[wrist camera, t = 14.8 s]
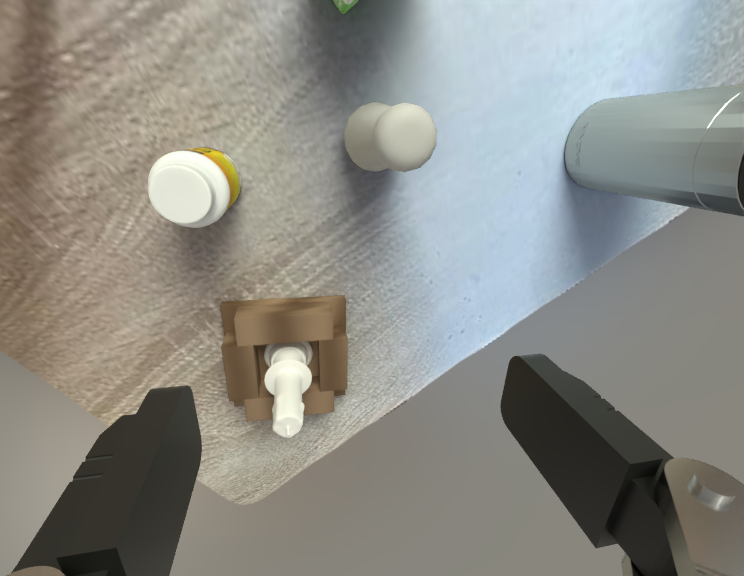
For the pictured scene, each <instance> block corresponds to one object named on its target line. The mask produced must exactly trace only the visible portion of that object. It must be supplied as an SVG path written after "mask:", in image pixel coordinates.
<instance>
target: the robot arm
mask: <svg viewBox="0 0 744 576" xmlns="http://www.w3.org/2000/svg"><path fill="white" fill-rule="evenodd" d="M565 163H566V167H567V171H568V173H569V175H570V176H571V178H572V179H573V180H574V181H575V182H576V183H577V184H579V185H580V186H582V187H586V188H591V189H596V190H602V191H607V192H612V193H617V194H622V195H628V196H633V197H639V198H644V199H650V200H655V201H661V202H666V203H672V204H677V205H683V206H688V207H694V208H699V209H705V210H710V211H717V212H722V213H728V214H733V215H738V216H744V84H739V85H730V86H721V87H712V88H703V89H694V90H685V91H675V92H666V93H657V94H648V95H637V96H628V97H619V98H611V99H606V100H602V101H600V102H597V103H595V104H594V105H592V106H591V107H589V108H588V109H587V110H586V111H585V112H584V113H583V114H582V115H581V116H580V117H579V118H578V120H577V121H576V123H575V124H574V126H573V128H572V130H571V132H570V134H569V137H568V140H567V143H566V150H565ZM501 413H502V417H503V420H504V423H505V424H506V426H507V428H508V429H509V430H510V432H511V433H512V434H513V436H514V437H515V439H516V440H517V441H518V443H519V444H520V445H521V447H522V448H523V449H524V451H525V452H526V453H527V455H528V456H529V458H530V459H531V460H532V462H533V463H534V465H535V466H536V467H537V469H538V470H539V471H540V473H541V474H542V475H543V477H544V478H545V479H546V481H547V482H548V484H549V485H550V486H551V488H552V489H553V490H554V492H555V493H556V494H557V496H558V497H559V498H560V500H561V501H562V503H563V504H564V505H565V507H566V508H567V510H568V511H569V512H570V514H571V515H572V516H573V518H574V519H575V520H576V522H577V523H578V525H579V526H580V527H581V529H582V530H583V531H584V533H585V534H586V535H587V537H588V538H589V539H590V541H591V542H592V543H593V545H594V546H595V548H599V547H603V546H609V545H613V544H619V545H620V546H621V548H622V549H623V550H624V551H625V553H624V556H623V558H622V572H623V576H744V484H742V483H741V482H740V481H738V480H737V479H735V478H734V477H733V476H731V475H729V474H728V473H726V472H724V471H722V470H720V469H718V468H716V467H714V466H712V465H710V464H707V463H704V462H701V461H698V460H694V459H689V458H673V457H672V456H671V455H670V454H669V453H667V452H666V451H665V450H664V449H662V448H661V447H660V446H659V445H658V444H657V443H656V442H654V441H653V440H652V439H651V438H650V437H648V436H647V435H646V434H645V433H644V432H643V431H641V430H640V429H639V428H638V427H637V426H635V425H634V424H633V423H632V422H631V421H630V420H628V419H627V418H626V417H625V416H624V415H623V414H621V413H620V412H619V411H615V409H614V407H613V406H612V405H611V404H610V403H608V402H607V401H606V400H605V399H601V396H600V395H599V394H598V393H596V391H594V390H593V389H592V388H591V387H590V386H588V385H587V384H586V383H585V382H583V381H582V380H580V379H578V378H576V377H574V376H572V375H570V374H568V373H567V372H565V371H562V370H561V369H560V368H559V367H558V366H557V365H556V364H554V363H553V362H552V361H551V360H550V359H549V358H548V357H546V356H545V355H543V354H533V355H523V356H514V357H512V359H511V360H510V362H509V366H508V371H507V375H506V380H505V385H504V390H503V395H502V399H501ZM201 451H202V443H201V435H200V429H199V424H198V419H197V414H196V409H195V404H194V398H193V393H192V390H191V388H190V387H189V386H178V387H167V388H156V389H151V390H150V391H149V392H148V394H147V395H146V397H145V399H144V401H143V402H142V404H141V406H140V408H139V410H138V411H137V413H136V414H133V415H124V416H122V417H120V418H119V419H118V420H117V421H116V422H115V423H113V424H112V425H111V426H110V427H109V428H108V429H106V430H105V431H104V432H103V433H102V434H101V435H100V436H99V437H98V439H97V440H96V442H95V444H94V445H93V447H92V448H91V450H90V451H89V453H88V455H87V456H86V461H85V462H82V464H81V465H80V467H79V469H78V470H77V472H76V473H75V475H74V476H73V481H72V482H70V483H69V484H68V486H67V488H66V489H65V491H64V492H63V494H62V495H61V497H60V498H59V500H58V501H57V503H56V505H55V506H54V508H53V509H52V511H51V513H50V514H49V516H48V517H47V519H46V520H45V522H44V523H43V525H42V527H41V528H40V530H39V532H38V533H37V534H36V536H35V538H34V539H33V541H32V542H31V544H30V546H29V547H28V549H27V550H26V552H25V553H24V555H23V556H22V558H21V559H20V561H19V563H18V564H17V566H16V567H15V568H14V570H13V572H12V573H11V574H9V575H6V576H169V574H170V570H171V567H172V563H173V560H174V556H175V552H176V549H177V545H178V542H179V538H180V534H181V531H182V527H183V523H184V520H185V517H186V513H187V509H188V506H189V502H190V498H191V494H192V491H193V488H194V484H195V481H196V477H197V473H198V470H199V466H200V461H201Z"/></svg>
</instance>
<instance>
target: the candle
mask: <svg viewBox="0 0 744 576" xmlns="http://www.w3.org/2000/svg"><path fill="white" fill-rule="evenodd" d="M312 356H313V351H312V347H311V345H310V343H309V342H308V341H304V342H291V343H277V344H268V345H267V346H266V348H265V351H264V359H265V362H266V364H267V365H268V367H269V369H268V371H267V372H266V374H265V378H264V382H265V386H266V388H267V390H268V391H269V392H270V393H271V394H273V395H275V397H274V405H273V408H272V412H273V427H272V428H273V431H274V432H276V433H277V434H278V435H280V436H282V437H285V438H291V437H292V436H294V435H295V434H297V433H298V432H299V431H300V430H301V428H302V425H303V412H304V407H305V406H304V403H303V402H302V394H303V393H304V392H305V391H306V390H307V389H308V388H309V386H310V384H311V381H312V375H311V371H310V370H309V368H308V367H307V366H308V365H309V363H310V362H311V360H312Z"/></svg>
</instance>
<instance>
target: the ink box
mask: <svg viewBox="0 0 744 576" xmlns="http://www.w3.org/2000/svg"><path fill="white" fill-rule="evenodd" d="M358 1H359V0H333V2H334V3H335V5H336V6H337V8H338V9H339V11H340V12H341V13H342V14H345V13H346V12H347V11H348V10H349V9H350V8H351V7H352V6H354V5H355V4H356V3H357V2H358Z"/></svg>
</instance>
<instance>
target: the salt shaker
mask: <svg viewBox="0 0 744 576" xmlns="http://www.w3.org/2000/svg"><path fill="white" fill-rule="evenodd" d="M436 134H437V130H436V127H435V125H434V122H433V119H432V117H431V116H430V115H429V114H428V113H427V112H426V111H425V110H424V109H423V108H421V107H420V106H417V105H413V104H409V103H405V102H404V103H401V104H398V105H394V106H390V105H386V104H382V103H378V102H372V103H369V104H365V105H362V106H360V107H359V108H358V109H357V110H356V111H355V112H354V113H353V114H352V115H351V116H350V117H349V120H348V122H347V125H346V128H345V130H344V137H345V148H346V150H347V152H348V154H349V156H350V158H351V159H352V161H353V162H355V163H356V164H357V165H358V166H360V167H361V168H362V169H364V170H370V171H376V172H377V171H381V170H385V169H388V168H389V169H391V170H395V171H401V172H407V171H410V170H414V169H417V168H420V167H421V166H422V165H423V164H424V163H425V162H427V161H428V160H429V159H430V157H431V155H432V153H433V151H434V149H435V147H436Z"/></svg>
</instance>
